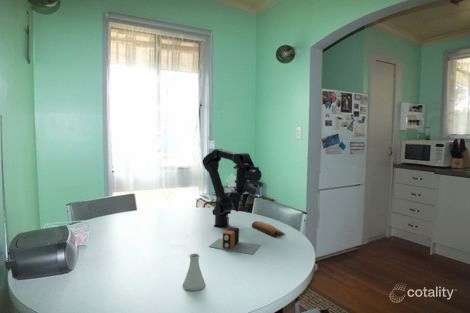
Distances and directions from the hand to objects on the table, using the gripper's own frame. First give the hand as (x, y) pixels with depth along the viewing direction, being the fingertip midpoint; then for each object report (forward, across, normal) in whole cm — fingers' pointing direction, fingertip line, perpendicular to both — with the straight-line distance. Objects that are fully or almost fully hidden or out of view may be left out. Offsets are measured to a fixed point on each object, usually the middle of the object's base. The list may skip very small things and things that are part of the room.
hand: (240, 209), depth 144 cm
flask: (+11, -55, -6) cm, 56 cm away
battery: (+8, -14, -3) cm, 16 cm away
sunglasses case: (+12, +8, -13) cm, 19 cm away
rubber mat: (+11, -18, -5) cm, 22 cm away
